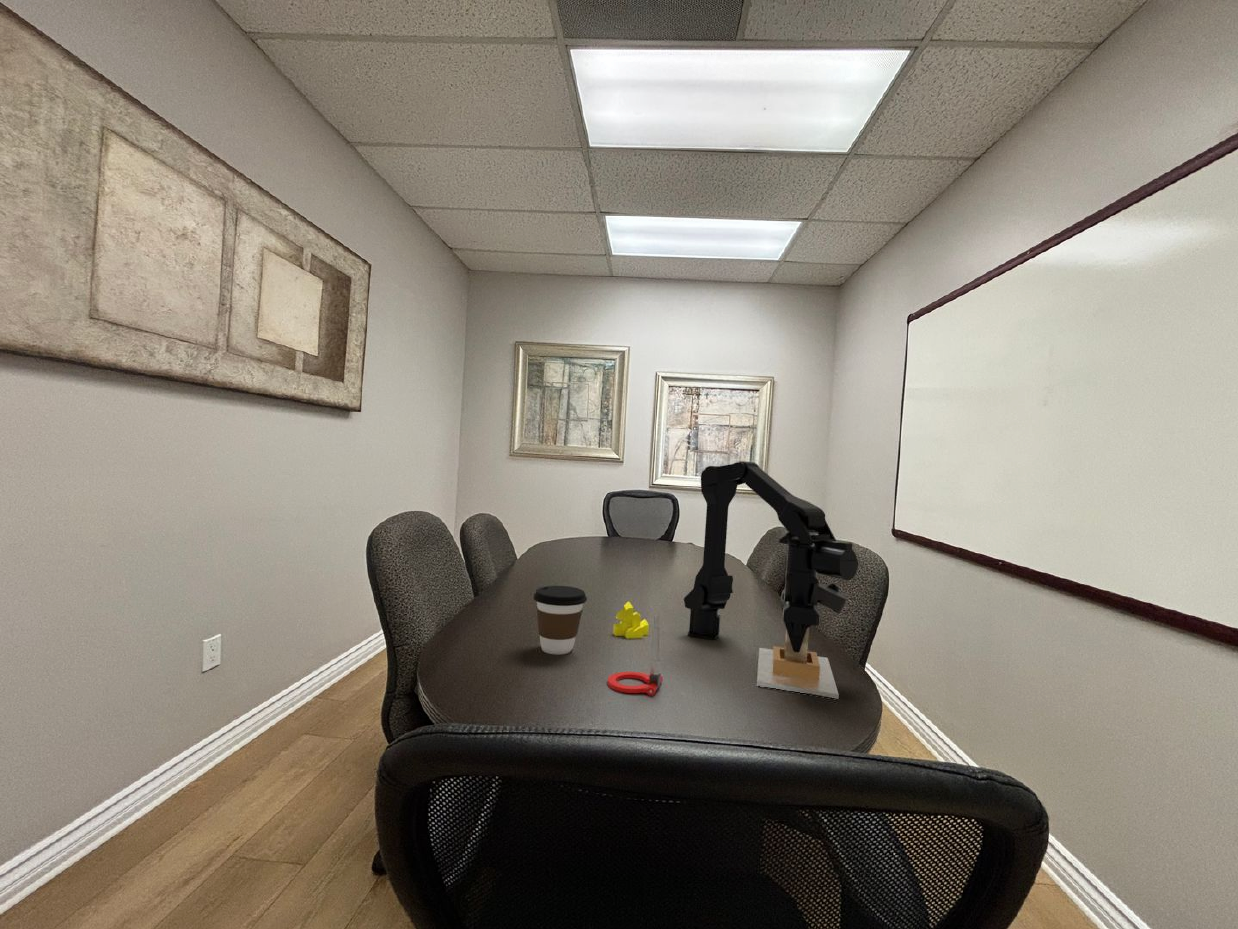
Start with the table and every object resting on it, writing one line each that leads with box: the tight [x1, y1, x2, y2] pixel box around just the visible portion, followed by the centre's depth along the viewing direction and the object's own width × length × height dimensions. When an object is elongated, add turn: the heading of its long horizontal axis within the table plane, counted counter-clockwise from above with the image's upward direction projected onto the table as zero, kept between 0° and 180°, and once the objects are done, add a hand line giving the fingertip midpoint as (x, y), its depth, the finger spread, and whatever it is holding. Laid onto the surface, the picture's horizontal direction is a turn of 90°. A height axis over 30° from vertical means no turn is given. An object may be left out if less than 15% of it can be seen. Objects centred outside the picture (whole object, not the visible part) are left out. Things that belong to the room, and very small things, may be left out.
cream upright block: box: [784, 627, 810, 662], centre depth 110 cm, size 4×4×8 cm
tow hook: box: [607, 614, 663, 697], centre depth 99 cm, size 8×13×9 cm
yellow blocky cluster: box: [612, 601, 650, 640], centre depth 128 cm, size 6×8×8 cm
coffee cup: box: [533, 585, 588, 655], centre depth 114 cm, size 11×11×12 cm
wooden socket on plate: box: [756, 645, 840, 700], centre depth 110 cm, size 14×20×4 cm
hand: (795, 648), depth 110 cm, fingers closed on cream upright block, 4 cm apart
